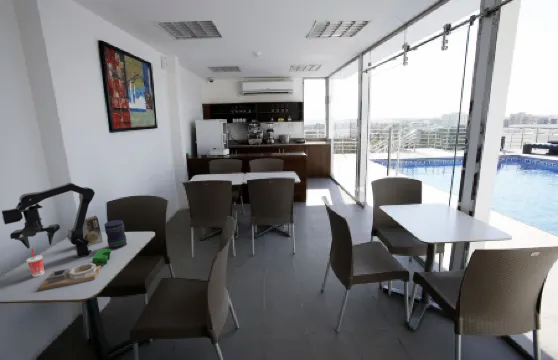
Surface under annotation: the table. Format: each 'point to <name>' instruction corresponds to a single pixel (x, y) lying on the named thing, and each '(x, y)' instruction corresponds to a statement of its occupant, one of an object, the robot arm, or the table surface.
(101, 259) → the clamp
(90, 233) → the coffee box
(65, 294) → the table surface
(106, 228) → the storage jar
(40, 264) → the beverage cup
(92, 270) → the socket board
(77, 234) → the robot arm
